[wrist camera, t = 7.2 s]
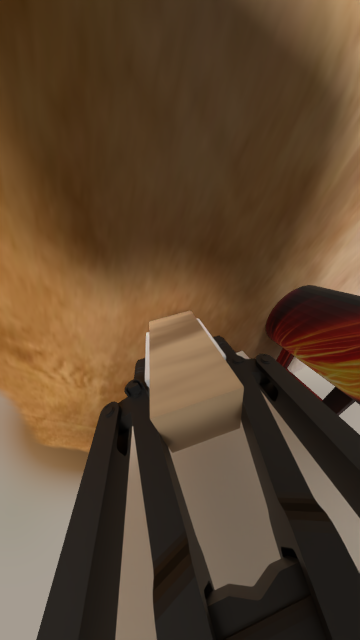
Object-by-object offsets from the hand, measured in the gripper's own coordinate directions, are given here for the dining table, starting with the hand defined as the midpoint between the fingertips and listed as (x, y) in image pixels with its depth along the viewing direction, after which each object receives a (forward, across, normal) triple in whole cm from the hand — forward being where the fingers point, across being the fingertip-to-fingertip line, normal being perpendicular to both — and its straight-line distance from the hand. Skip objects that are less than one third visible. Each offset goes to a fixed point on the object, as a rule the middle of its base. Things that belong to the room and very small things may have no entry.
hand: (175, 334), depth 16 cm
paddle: (0, 0, -10) cm, 10 cm away
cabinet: (+1, +1, -15) cm, 15 cm away
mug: (+1, +19, -6) cm, 20 cm away
